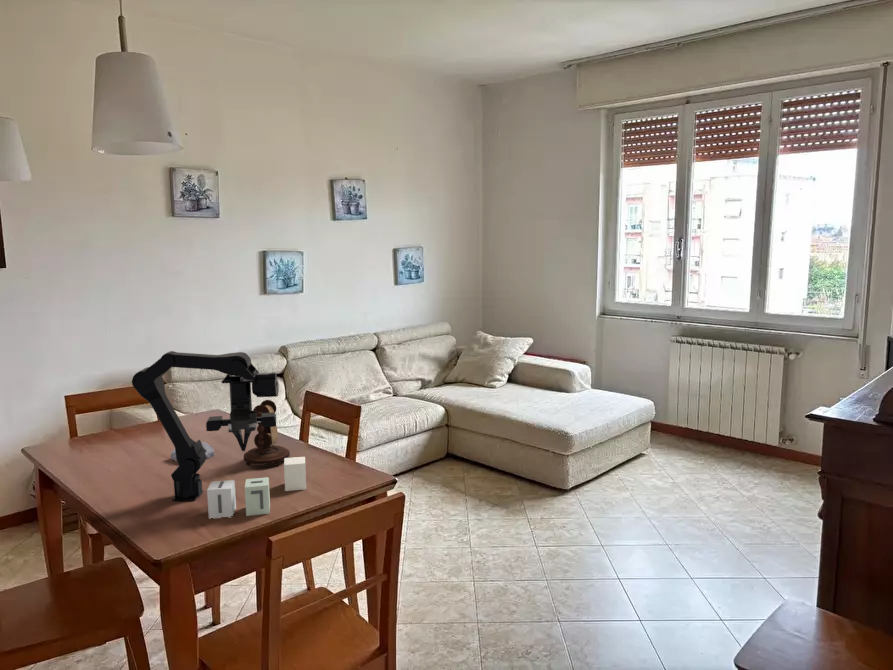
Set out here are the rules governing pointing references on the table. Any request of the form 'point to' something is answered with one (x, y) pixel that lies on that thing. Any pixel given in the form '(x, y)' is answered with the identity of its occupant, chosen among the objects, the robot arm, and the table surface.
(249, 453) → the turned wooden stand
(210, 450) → the stone block
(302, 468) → the plain cream block
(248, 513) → the sage marked block
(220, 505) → the grey marked block
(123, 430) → the table surface
